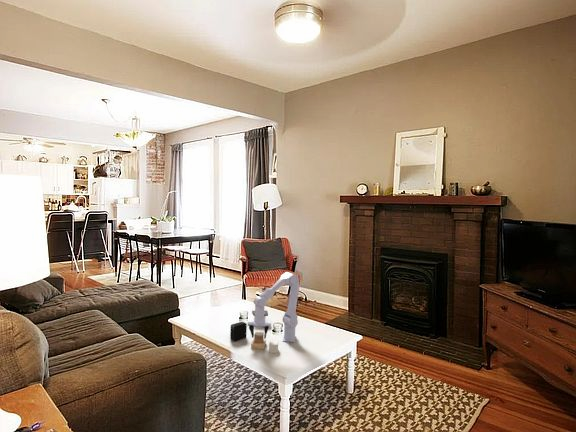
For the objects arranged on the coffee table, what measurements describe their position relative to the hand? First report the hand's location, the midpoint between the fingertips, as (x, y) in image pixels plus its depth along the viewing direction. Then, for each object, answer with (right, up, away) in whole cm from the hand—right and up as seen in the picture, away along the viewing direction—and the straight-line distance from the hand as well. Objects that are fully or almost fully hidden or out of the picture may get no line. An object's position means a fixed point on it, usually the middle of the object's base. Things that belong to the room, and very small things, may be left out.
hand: (258, 337), depth 226 cm
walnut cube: (0, -2, 0) cm, 2 cm away
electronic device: (-14, -5, +11) cm, 18 cm away
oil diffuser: (-3, -4, +40) cm, 41 cm away
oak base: (0, -5, 0) cm, 5 cm away
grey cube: (+9, -6, -6) cm, 12 cm away
